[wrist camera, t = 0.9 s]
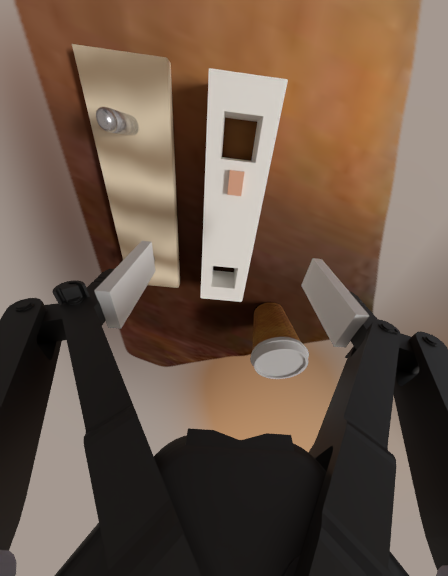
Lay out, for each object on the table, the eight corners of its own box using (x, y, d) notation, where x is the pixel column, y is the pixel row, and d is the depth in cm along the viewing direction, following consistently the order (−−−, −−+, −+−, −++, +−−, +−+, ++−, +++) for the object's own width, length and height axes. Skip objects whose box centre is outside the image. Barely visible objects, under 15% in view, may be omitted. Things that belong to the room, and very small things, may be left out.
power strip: (212, 83, 21) (208, 65, 16) (276, 92, 21) (289, 77, 16) (203, 281, 36) (200, 300, 32) (240, 284, 36) (242, 304, 32)
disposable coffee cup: (263, 334, 45) (272, 386, 35) (236, 311, 41) (239, 363, 31) (299, 314, 41) (322, 367, 31) (275, 287, 37) (291, 338, 27)
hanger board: (81, 50, 19) (71, 43, 18) (170, 63, 20) (166, 57, 19) (132, 278, 36) (128, 283, 35) (180, 283, 36) (178, 287, 35)
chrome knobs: (124, 114, 22) (88, 103, 16) (140, 116, 22) (110, 106, 16) (146, 260, 33) (130, 283, 27) (157, 261, 33) (143, 284, 27)
